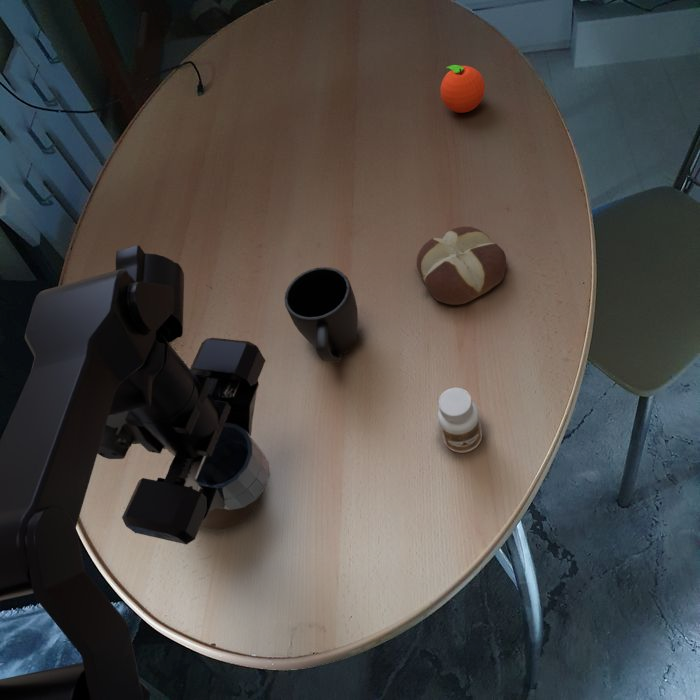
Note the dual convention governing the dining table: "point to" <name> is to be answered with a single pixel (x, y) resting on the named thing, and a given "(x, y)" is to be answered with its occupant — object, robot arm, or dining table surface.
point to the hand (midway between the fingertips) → (233, 472)
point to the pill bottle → (459, 420)
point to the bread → (461, 265)
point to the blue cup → (235, 468)
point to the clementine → (462, 88)
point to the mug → (324, 311)
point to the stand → (228, 516)
